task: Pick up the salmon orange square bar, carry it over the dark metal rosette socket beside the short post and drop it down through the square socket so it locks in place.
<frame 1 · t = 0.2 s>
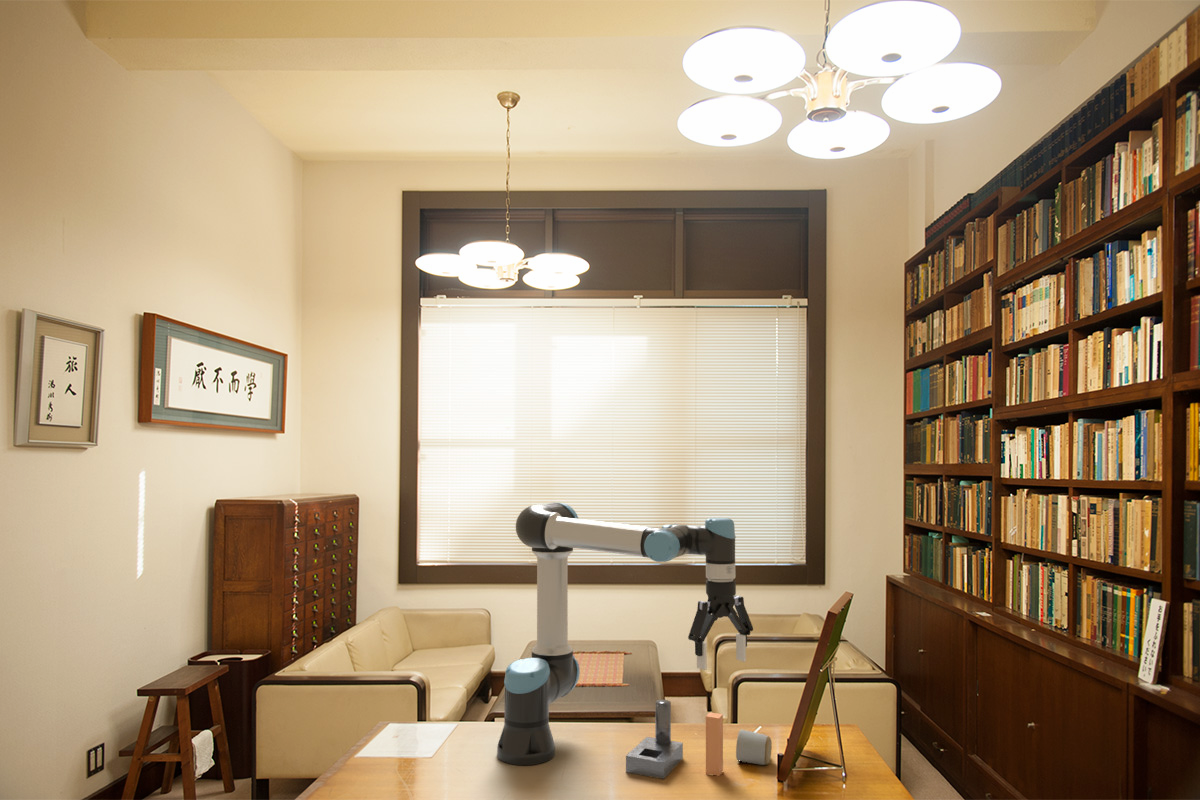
hand: (721, 664, 200), 26 cm above the table, tool pointing down, fingers open, 13 cm apart
rosette socket: (650, 769, 198), on the table
salmon orange square bar: (714, 772, 196), on the table
grey rounded box: (753, 761, 205), on the table
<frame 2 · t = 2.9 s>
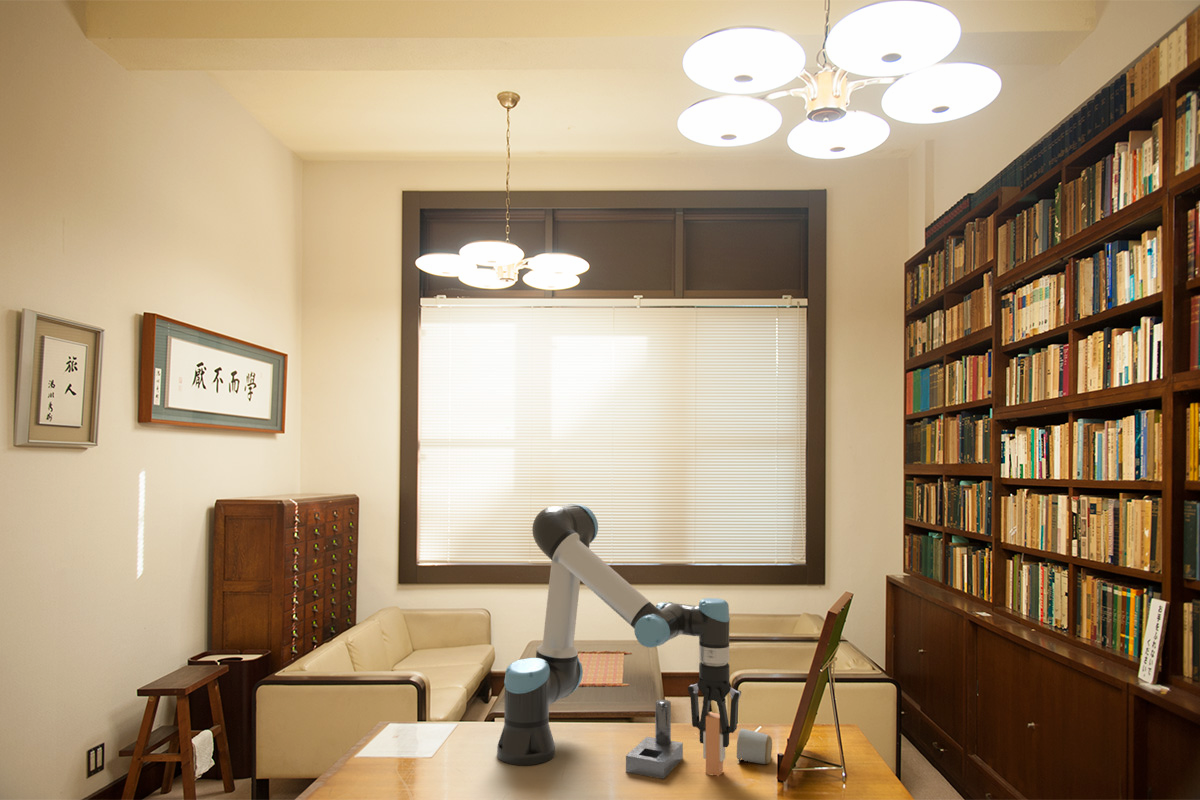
hand: (714, 757, 197), 4 cm above the table, tool pointing down, fingers closed on salmon orange square bar, 3 cm apart
salmon orange square bar: (714, 772, 196), on the table, touching gripper
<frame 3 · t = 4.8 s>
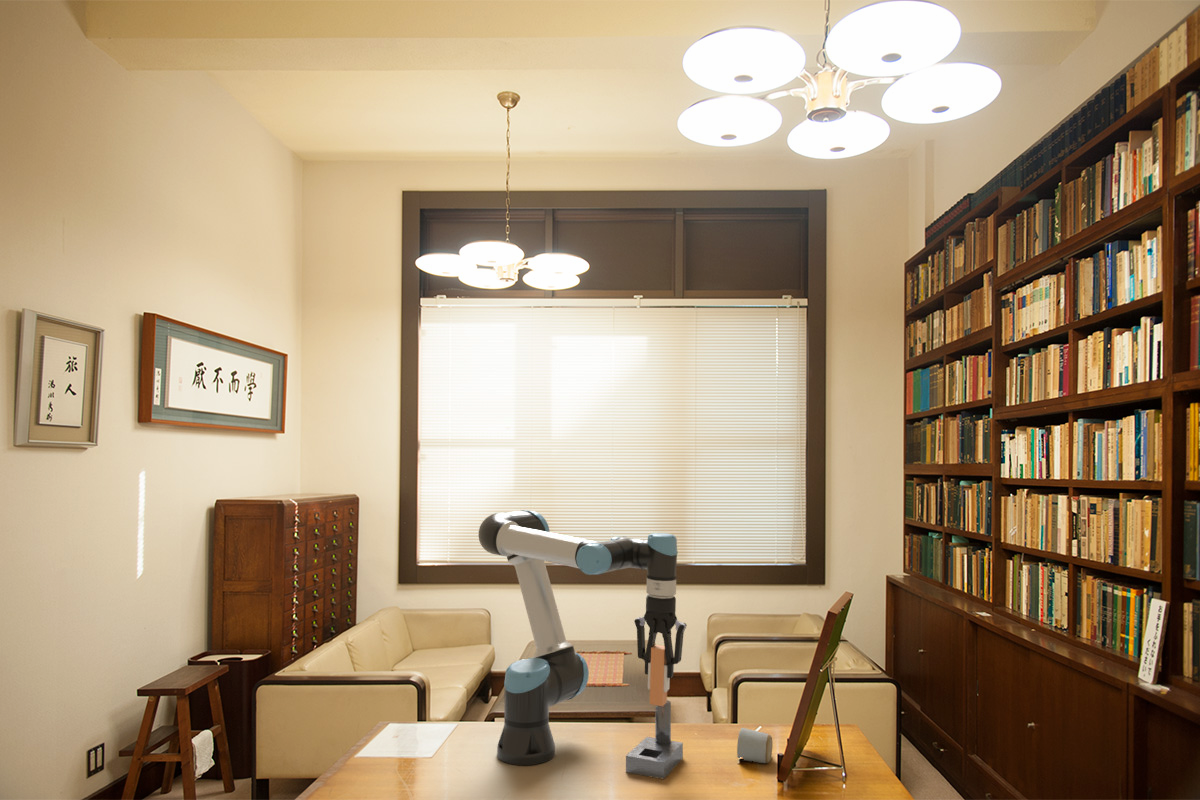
hand: (658, 688, 200), 20 cm above the table, tool pointing down, fingers closed on salmon orange square bar, 3 cm apart
salmon orange square bar: (658, 703, 199), point 16 cm above the table, touching gripper
when the fingers open (6 cm above the table, at t = 7.2 s): salmon orange square bar drops 2 cm, resting in rosette socket.
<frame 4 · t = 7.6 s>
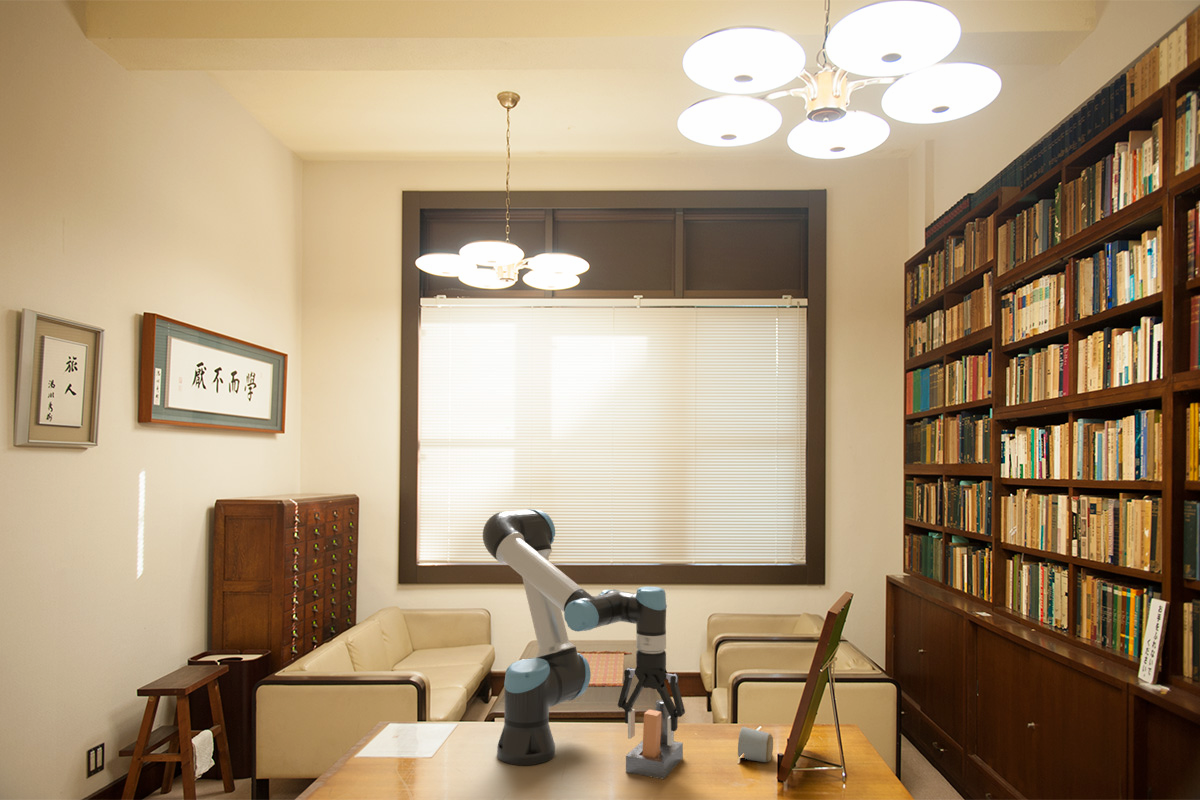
hand: (650, 740, 199), 7 cm above the table, tool pointing down, fingers open, 10 cm apart
salmon orange square bar: (650, 769, 198), resting in rosette socket
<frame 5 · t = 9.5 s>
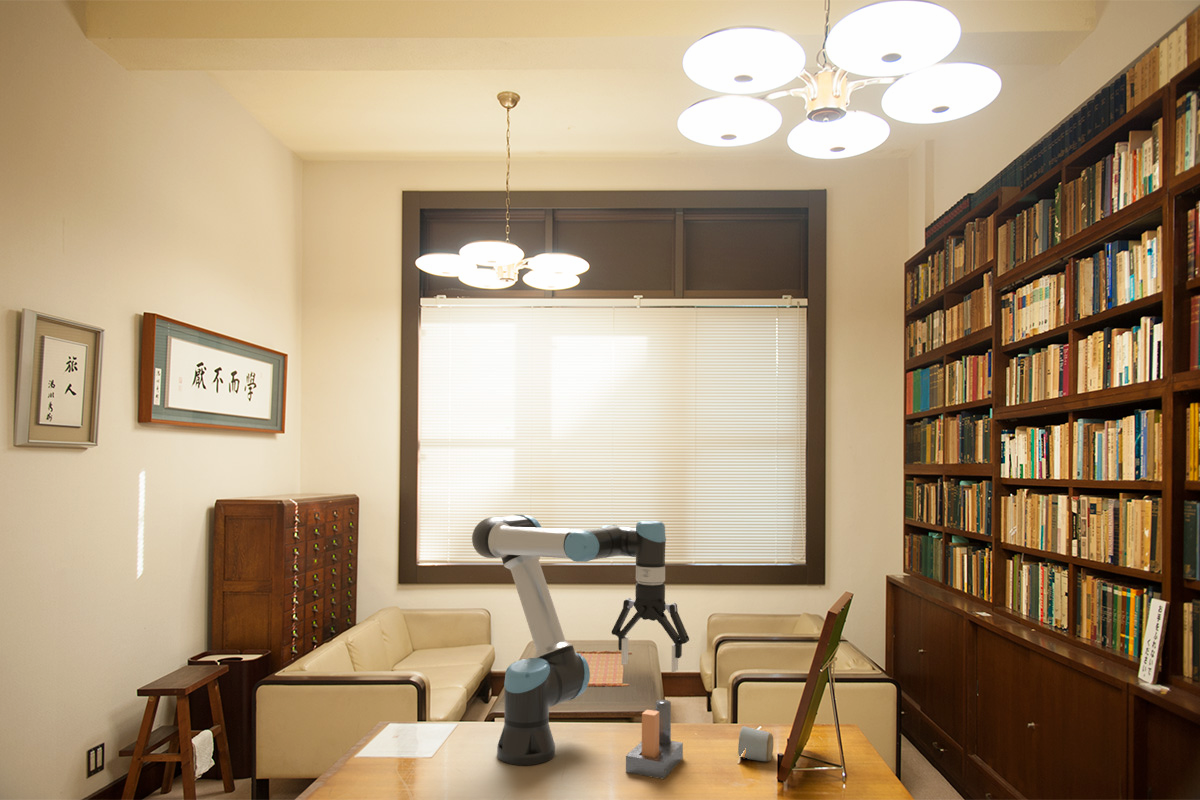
hand: (649, 667, 200), 25 cm above the table, tool pointing down, fingers open, 13 cm apart
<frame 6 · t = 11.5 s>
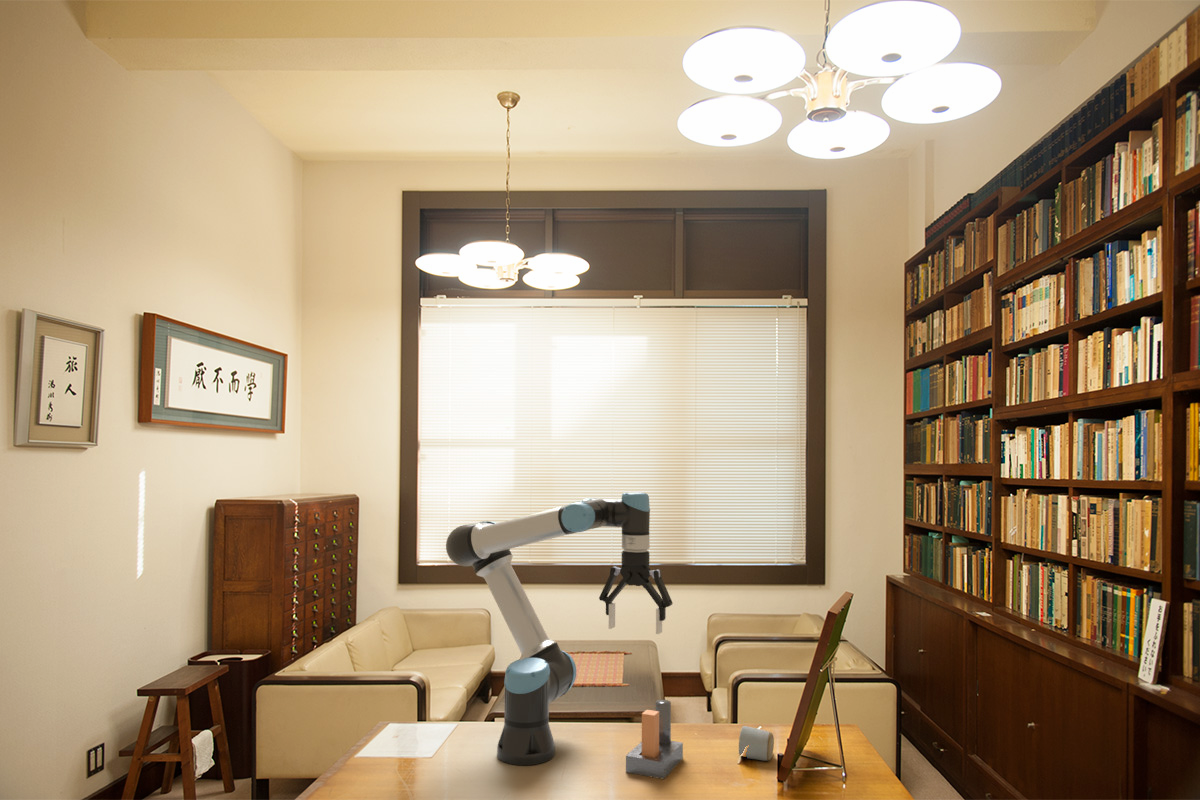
hand: (635, 630, 212), 32 cm above the table, tool pointing down, fingers open, 13 cm apart
at the end: salmon orange square bar 0.1 cm off-centre on the rosette socket, point 0.0 cm above the rosette socket's base; salmon orange square bar tilted 0°; the gripper is holding nothing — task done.
